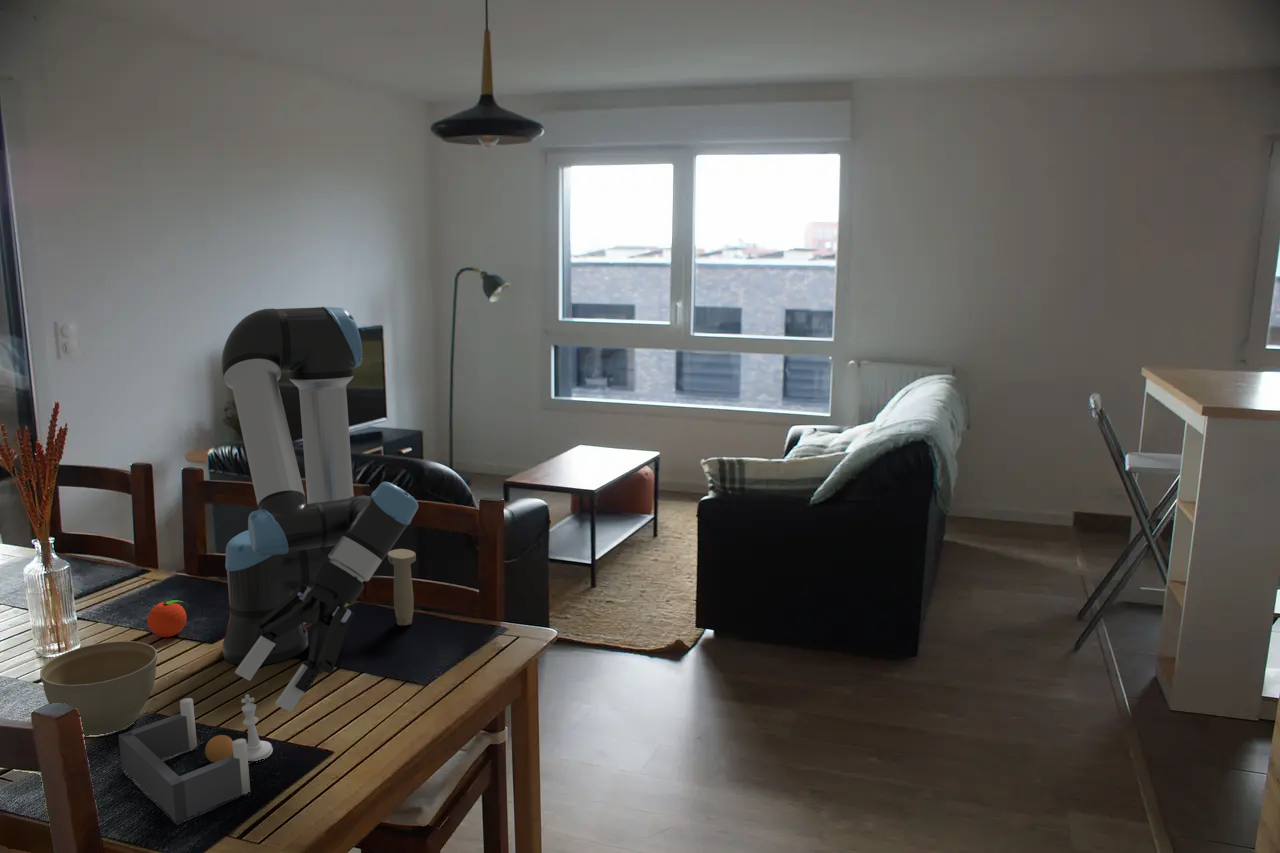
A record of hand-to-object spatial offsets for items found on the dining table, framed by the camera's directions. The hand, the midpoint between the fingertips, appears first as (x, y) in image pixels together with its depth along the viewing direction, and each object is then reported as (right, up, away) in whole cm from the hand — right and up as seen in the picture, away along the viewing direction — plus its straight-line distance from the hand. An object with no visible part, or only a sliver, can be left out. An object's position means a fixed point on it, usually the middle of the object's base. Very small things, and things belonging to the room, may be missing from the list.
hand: (261, 692), depth 139 cm
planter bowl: (-29, -8, +10) cm, 32 cm away
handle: (+9, -1, +51) cm, 51 cm away
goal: (-8, -11, -6) cm, 15 cm away
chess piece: (-1, -10, +1) cm, 10 cm away
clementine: (-36, -2, +44) cm, 57 cm away
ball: (-6, -8, -1) cm, 10 cm away
